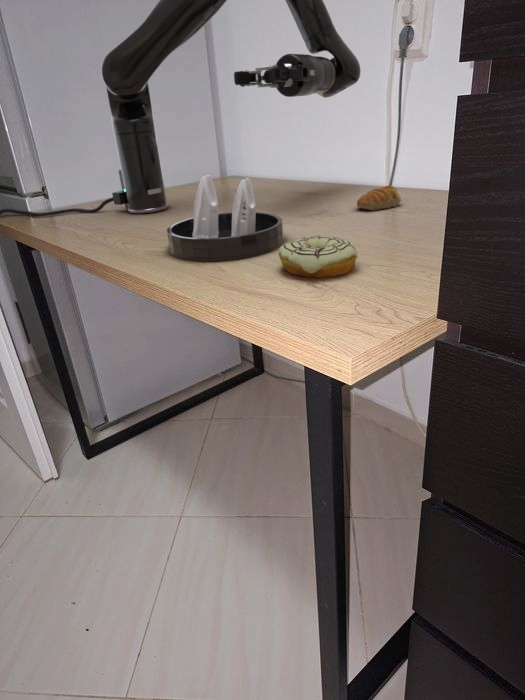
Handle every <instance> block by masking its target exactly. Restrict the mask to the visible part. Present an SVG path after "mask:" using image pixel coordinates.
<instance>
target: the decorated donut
mask: <svg viewBox="0 0 525 700" xmlns="http://www.w3.org/2000/svg"><path fill="white" fill-rule="evenodd" d="M278 257H279V260H280V262H281V264H282V267H283V268H284V269H285V270H286V271H287V272H289V273H290V274H293V275H295V276H302V277H307V276H308V277H310V278H315V277H316V278H318V279H321V278H322V279H323V278H325V277H336V276H338V275H345V274H347V273H348V272H349V271H350V270H352V269H353V267H355V266H356V264H355V263H356V261H357V258H358V257H359V254H358V250H357V248H356V246H355V245H354V243H352V242H351V241H348V240H346V239H343V238H340V237H335V236H328V235H311V236H310V235H308V236H302V237H300V238H299V237H298V238H296V239H293V240H290V241H288V242H285V243H282V244H281V246H279V249H278Z"/></svg>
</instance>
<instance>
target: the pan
mask: <svg viewBox="0 0 525 700" xmlns="http://www.w3.org/2000/svg"><path fill="white" fill-rule="evenodd" d="M283 223H284V222H283V218H282V217H281V216H279V215H276V214H274V213H268V212H264V211H263V212H261V211H256V222H255V233H250V234H245V235H240V236H231V233H232V211H230V212H218V230H219V235H218V238H192V237H193V236H192V235H193V229H194V217H189V218H186V219H183V220H181V221H178V222H176V223H173V224H171V225H170V226H169V227H168V228H167V229H166V233H167V234H166V235H167V240H168V246H169V252H170V254H171V255H172V256H173V257H175V258H178V259H181V260H186V261H194V262H227V261H234V260H235V261H236V260H242V259H248V258H253V257H256V256H261V255H263V254H267V253H270V252H272V251H274V250H276V249H278V248H280V247H281V246H282V245H283V244H284V225H283Z"/></svg>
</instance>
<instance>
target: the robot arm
mask: <svg viewBox="0 0 525 700" xmlns="http://www.w3.org/2000/svg"><path fill="white" fill-rule="evenodd" d="M227 1H228V0H159V1H158V2H157V3H156V4H155V6H154V7H153V9H152V10H151V12H150V13H149V14H148V16H147V17H146V19H145V20H144V21H143V22H142V23H141V25H139V27H138V28H136V29H135V30H134V31H133V32H132V33H131V34H129V36H127V37H126V38H125V39H124V40H123V41H122V42H120V43H119V44H118V45H117V46H116V47H114V48H113V49H111V50H110V51H109V52H108V53H107V54H106V55H105V56H104V58H103V60H102V63H101V68H100V69H101V70H100V72H101V78H102V82H103V83H104V85H105V89H106V94H107V100H108V104H109V112H110V118H111V119H110V121H111V126H112V131H113V135H114V141H115V146H116V153H117V156H118V162H119V167H120V168H119V169H118V176H119V182H120V188H121V190H119V191H114V192H112V193H111V195H112V197H110V198H107V199H106V200H103V201H102V202H101V203H100V204H99V205H98V207H95V208H92V209H87V208H79V207H77V208H75V207H74V208H67V209H65V208H64V209H57V210H52V211H47V212H32V211H29V210H19V209H14V208H3V209H0V216H1V215H2V214H4V213H12V214H13V213H14V214H19V215H29V216H32V217H48V216H55V215H61V214H67V213H85V214H94V213H98V212H100V211H101V210H102V209H103V208H104V207H105V205H108V204H109V203H111V202H113V204H114V205H120V206H122V205H124V208H125V212H128V213H130V214H151V213H156V212H161V211H164V210H166V209H168V207H169V205H168V201H167V195H166V190H165V189H166V188H165V183H164V182H165V181H164V176H163V171H162V162H161V158H160V151H159V145H158V139H157V132H156V125H155V118H154V113H153V112H154V111H153V107H152V100H151V93H150V86H149V81H150V79H151V78H152V76H153V75H154V74H155V73H156V71H158V69H159V67H160V66H161V65H162V64H163V62H165V60H166V59H167V58H168V57H170V55H171V54H172V53H173V52H175V51H176V50H177V49H179V48H180V47H181V46H183V45H184V44H185V43H187V42H188V41H189V40H191V39H192V38H193V37H194V36H195V35H196V34H198V33H199V32H200V31H201V30H202V29H203V28H204V27H205V26H206V25H207V24H208V23H209V22H210V21H211V20H212V19H213V17H215V16H216V14H217V13H218V12H219V11H220V10H221V8H222V7H224V5H225V4H226V3H227ZM285 3H286V5H287V7H288V9H289V11H290V14H291V15H292V17H293V18H292V19H293V20H294V22H295V25H296V27H297V29H298V32H299V34H300V35H301V37H302V40H303V42H304V44H305V47H306V49H307V51H308V52H309V53H310V54H303V53H286V54H284V55H282V56H281V57H280V58H279V59H278V60H277V62H276V63H275V64H270V65H268V66H258V67H255V69H254V70H249V69H245V70H239V71H234V73H233V79H234V85H235V86H239V87H242V88H243V87H251V86H252V87H254V86H255V87H256V88H270V89H276V90H277V92H278V93H279V94H281V96H284V97H287V98H294V97H295V98H296V97H307V96H310V95H314V94H315V95H318V96H320V97H321V98H324V99H325V98H331V97H334V96H335V95H337V94H339V93H340V92H342V91H344V90H347V89H348V88H350V87H352V86H353V85H355V84H357V82H358V81H359V80H360V77H361V64H360V62H359V60H358V58H357V56H356V55H355V54H354V53H353V51H352V50H351V49H350V47H349V46H348V45H347V44H346V43H345V41H344V40H343V38H342V36H341V35H340V34H339V32H338V31H337V30H336V27H335V25H334V24H333V23H334V22H333V20H332V18H331V15H330V13H329V11H328V9H327V7H326V4H325V2H324V0H285ZM323 52H328V53H329V54H331V56H332V57H331V59H330V58H328V57H325V56H319V55H318V56H317V55H316V54H319V53H323ZM263 71H264V72H263ZM262 72H263V74H262ZM262 81H263V82H264V83H263V82H262ZM13 302H14V305H15V307H16V311H17V314H18V317H19V319H20V322H21V325H22V329H23V333H24V335H25V337H26V341H27V345H30V344H32V341H31V338H30V335H29V331H28V329H27V325H26V321H25V319H24V316H23V313H22V310H21V307H20V304H19V302H18V301H13Z"/></svg>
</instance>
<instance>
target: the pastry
mask: <svg viewBox="0 0 525 700" xmlns="http://www.w3.org/2000/svg"><path fill="white" fill-rule="evenodd" d="M401 201H402V197H401V196H400V193H399V191H398V190H397V188H396V187H395V186H393V185H386V186H381V187H377V188H373V189H370V190H368V191H367V192H366V193H365V194H363V195H361V196H360V197H359V198H358V199H357V201H356V208H357V209H365V210H369V211H371V212H372V211H377V210H383V209H390V208H392V207H393V208H395V207H398V206H399V204H400V203H401Z"/></svg>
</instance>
